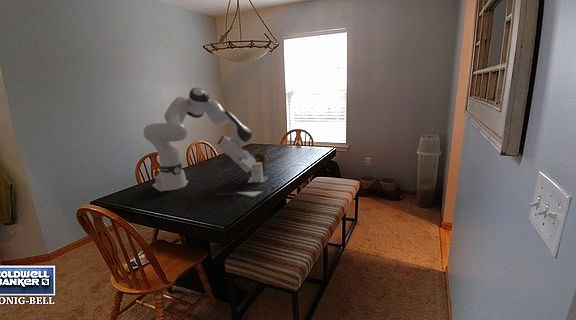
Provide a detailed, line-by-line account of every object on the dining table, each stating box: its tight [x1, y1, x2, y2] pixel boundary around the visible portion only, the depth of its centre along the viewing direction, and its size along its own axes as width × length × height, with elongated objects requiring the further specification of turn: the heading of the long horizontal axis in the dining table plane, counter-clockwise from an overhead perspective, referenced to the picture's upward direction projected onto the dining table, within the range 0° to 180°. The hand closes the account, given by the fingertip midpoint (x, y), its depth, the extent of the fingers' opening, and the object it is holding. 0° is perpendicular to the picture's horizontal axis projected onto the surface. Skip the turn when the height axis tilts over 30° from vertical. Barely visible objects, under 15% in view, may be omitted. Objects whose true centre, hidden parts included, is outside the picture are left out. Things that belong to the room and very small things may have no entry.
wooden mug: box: [253, 146, 268, 171], centre depth 193 cm, size 9×14×18 cm, turn 39°
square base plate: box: [246, 175, 268, 184], centre depth 173 cm, size 11×11×6 cm
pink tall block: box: [250, 162, 264, 181], centre depth 172 cm, size 6×6×10 cm
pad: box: [236, 190, 267, 198], centre depth 156 cm, size 12×12×1 cm
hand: (258, 171), depth 172 cm, fingers closed on pink tall block, 6 cm apart
